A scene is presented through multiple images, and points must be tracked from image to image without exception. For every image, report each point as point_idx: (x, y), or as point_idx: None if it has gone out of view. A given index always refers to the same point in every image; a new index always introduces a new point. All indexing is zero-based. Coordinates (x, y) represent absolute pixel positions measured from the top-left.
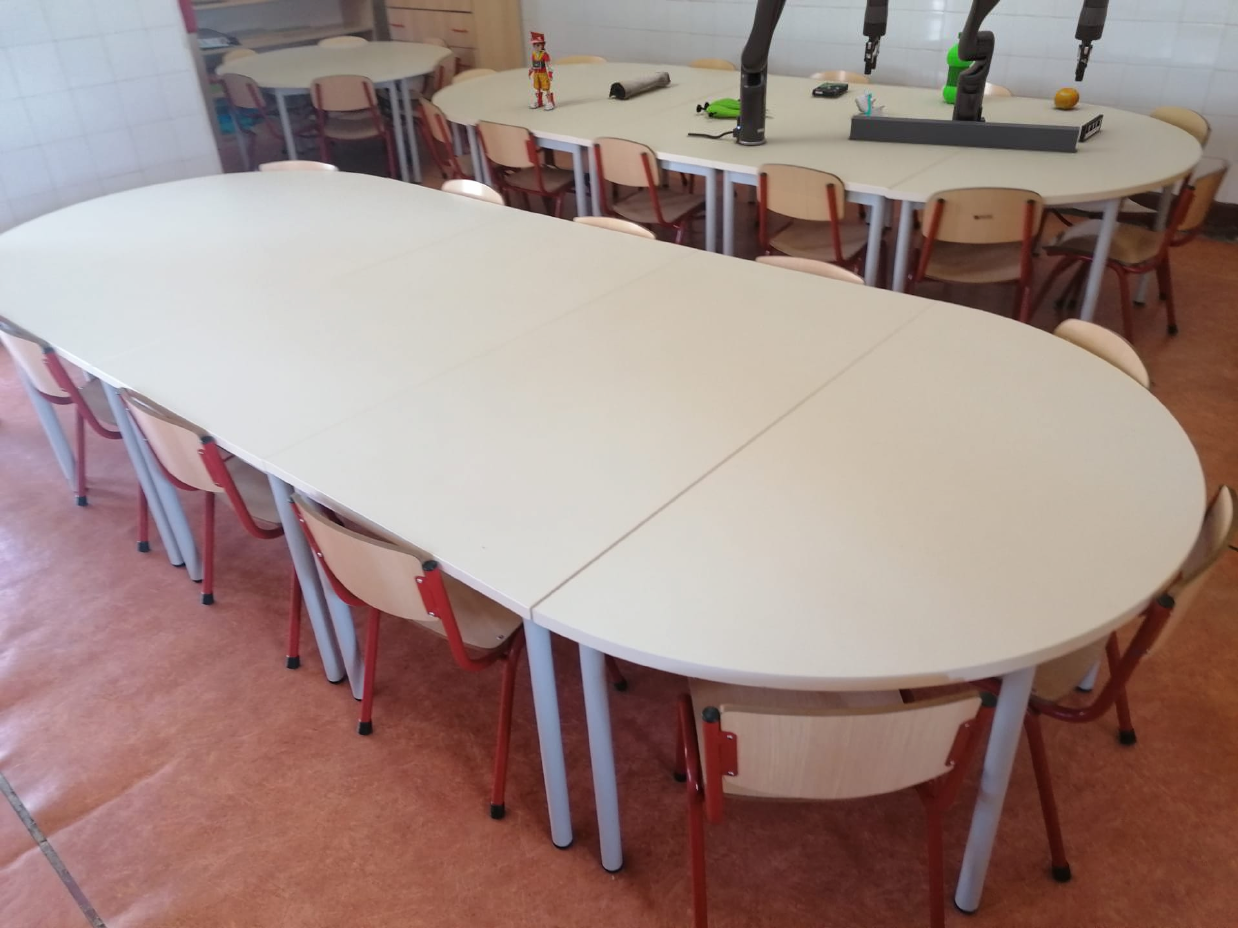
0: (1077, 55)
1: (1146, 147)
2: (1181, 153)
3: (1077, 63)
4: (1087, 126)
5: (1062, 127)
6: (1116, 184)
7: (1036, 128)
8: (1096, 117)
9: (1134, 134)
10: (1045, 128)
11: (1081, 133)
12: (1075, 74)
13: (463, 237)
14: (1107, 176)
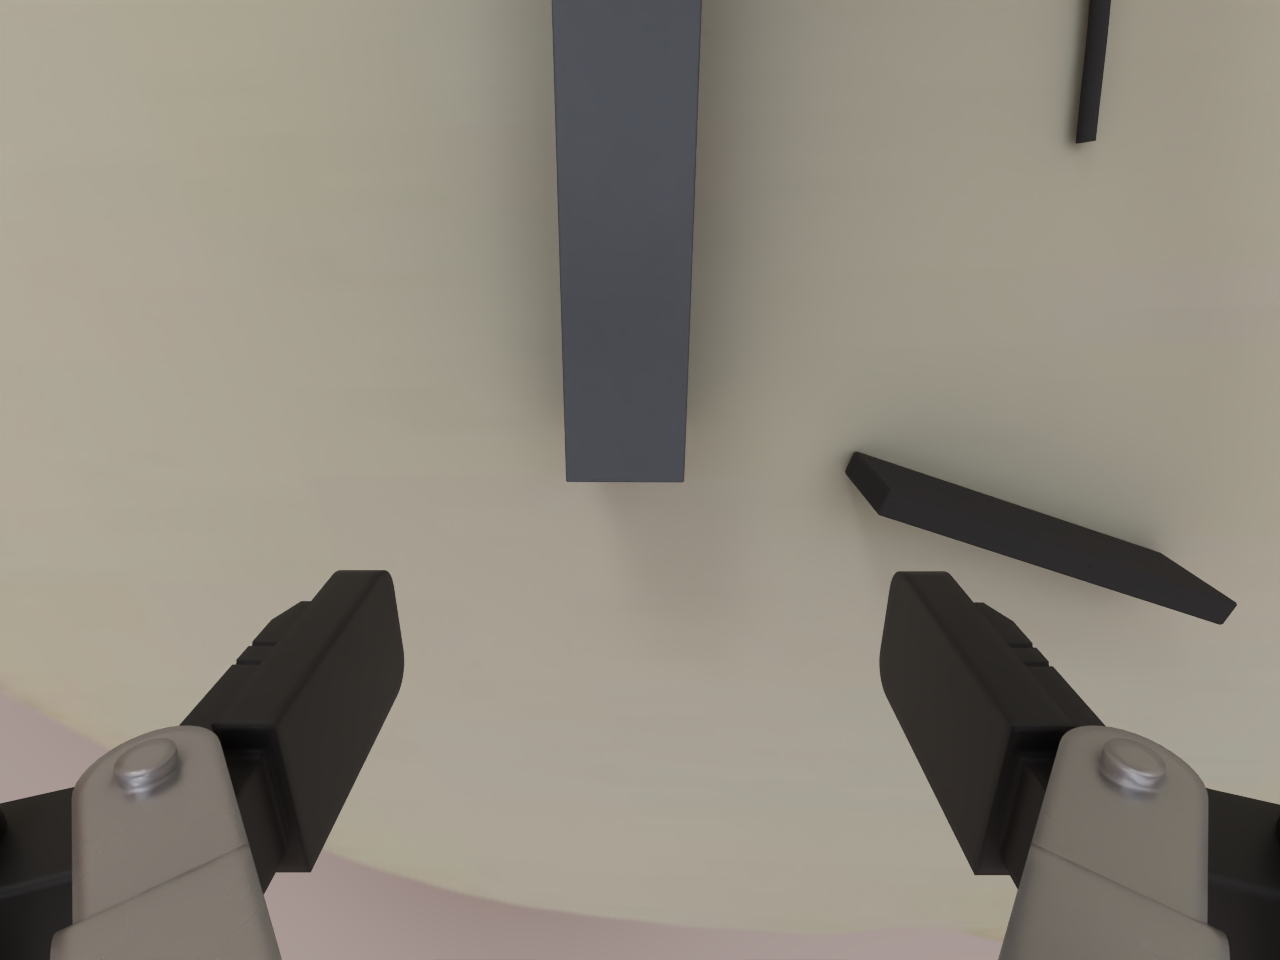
0: (1032, 897)
1: (776, 775)
2: (690, 893)
3: (1007, 713)
4: (912, 523)
5: (627, 348)
6: (6, 638)
7: (555, 101)
8: (1149, 582)
9: None
10: (559, 193)
11: (870, 476)
12: (902, 574)
13: None
14: (135, 600)
